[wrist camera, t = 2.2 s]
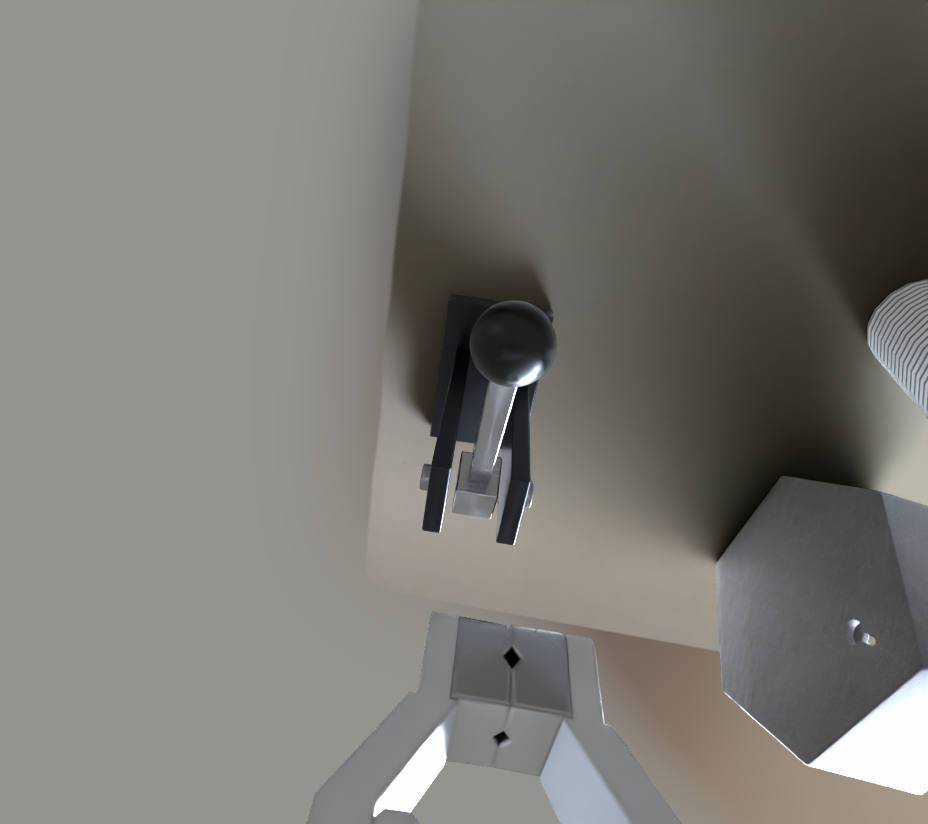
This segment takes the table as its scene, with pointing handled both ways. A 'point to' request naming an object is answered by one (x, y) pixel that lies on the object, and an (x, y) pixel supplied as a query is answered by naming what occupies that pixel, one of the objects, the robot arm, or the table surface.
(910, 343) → the cup
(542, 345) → the lever
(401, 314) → the table surface
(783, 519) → the grey hexagonal block
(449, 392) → the bracket
